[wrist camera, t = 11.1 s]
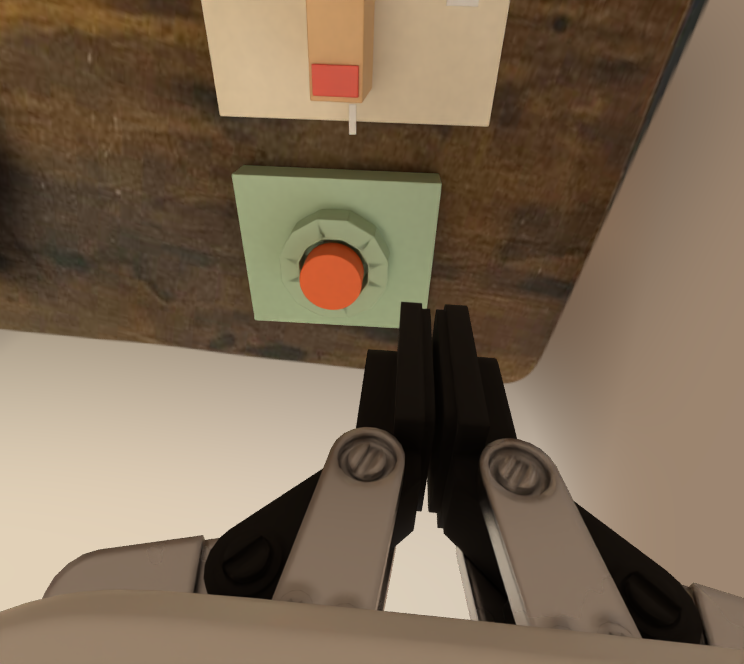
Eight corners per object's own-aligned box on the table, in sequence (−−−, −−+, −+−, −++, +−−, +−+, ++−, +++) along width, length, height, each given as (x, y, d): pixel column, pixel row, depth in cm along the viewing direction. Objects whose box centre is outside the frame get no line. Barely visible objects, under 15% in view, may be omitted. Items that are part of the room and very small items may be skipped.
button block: (439, 173, 25) (444, 192, 22) (423, 313, 31) (425, 345, 28) (243, 164, 26) (219, 182, 22) (263, 304, 31) (246, 334, 28)
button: (364, 243, 24) (362, 256, 23) (363, 297, 26) (361, 312, 25) (303, 240, 24) (296, 252, 23) (306, 294, 26) (301, 308, 25)
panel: (526, -165, 17) (544, -195, 15) (479, 131, 24) (487, 140, 21) (195, -170, 18) (166, -200, 16) (237, 121, 24) (220, 129, 22)
